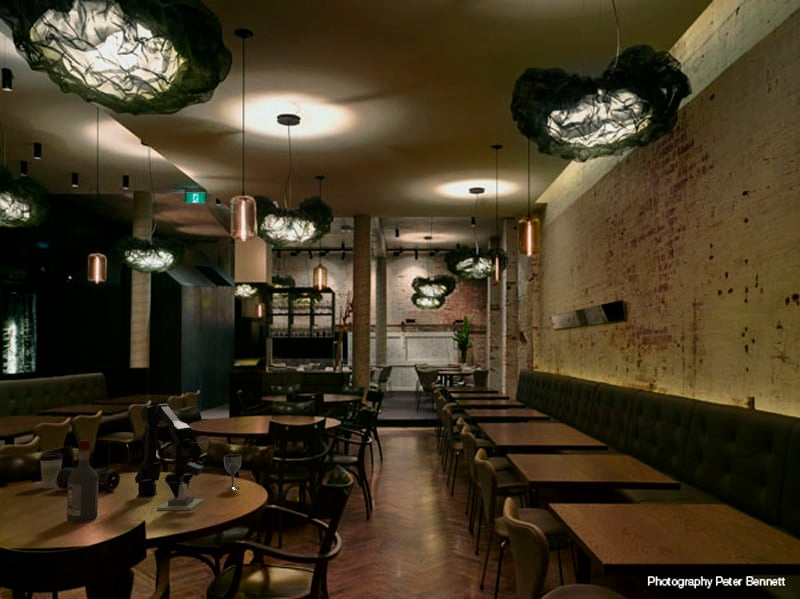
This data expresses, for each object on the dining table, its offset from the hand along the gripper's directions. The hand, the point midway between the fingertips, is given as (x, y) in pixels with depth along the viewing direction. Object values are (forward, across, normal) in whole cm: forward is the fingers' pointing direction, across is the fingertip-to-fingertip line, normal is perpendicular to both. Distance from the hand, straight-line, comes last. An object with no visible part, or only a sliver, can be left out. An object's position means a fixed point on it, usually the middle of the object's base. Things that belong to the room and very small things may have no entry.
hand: (181, 495), depth 256 cm
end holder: (+4, 0, 0) cm, 4 cm away
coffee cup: (+5, +32, +76) cm, 82 cm away
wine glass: (+4, +30, -12) cm, 33 cm away
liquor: (+4, -21, +30) cm, 37 cm away
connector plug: (+3, 0, 0) cm, 3 cm away
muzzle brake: (+5, +24, +54) cm, 59 cm away
